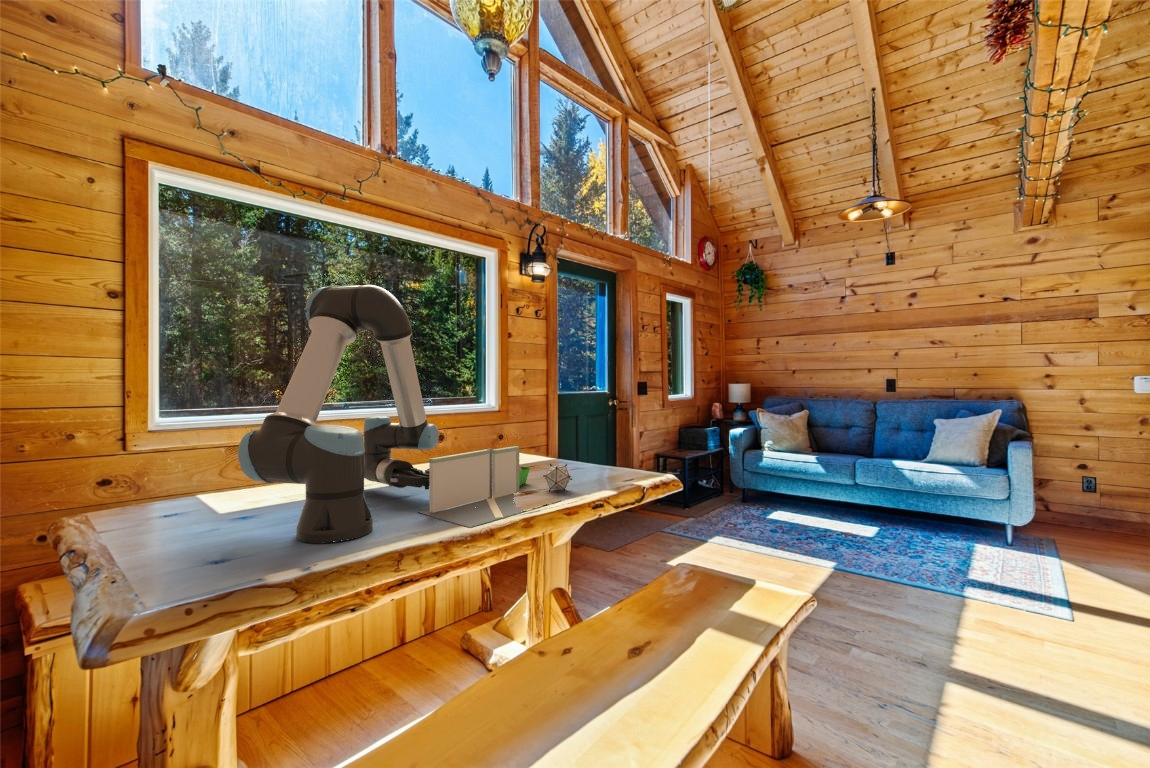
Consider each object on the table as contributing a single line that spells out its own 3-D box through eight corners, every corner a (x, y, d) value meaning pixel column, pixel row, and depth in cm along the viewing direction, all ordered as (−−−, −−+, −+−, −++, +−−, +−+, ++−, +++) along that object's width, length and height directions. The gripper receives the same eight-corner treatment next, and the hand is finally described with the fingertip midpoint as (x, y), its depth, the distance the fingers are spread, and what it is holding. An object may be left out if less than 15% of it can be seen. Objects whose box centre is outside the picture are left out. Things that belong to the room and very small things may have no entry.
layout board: (470, 528, 116) (470, 526, 116) (418, 512, 129) (418, 511, 129) (561, 501, 141) (561, 499, 141) (510, 490, 154) (510, 489, 154)
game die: (562, 501, 155) (580, 474, 158) (559, 498, 147) (578, 469, 150) (538, 485, 158) (556, 458, 160) (533, 481, 150) (553, 452, 152)
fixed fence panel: (495, 498, 144) (495, 450, 144) (491, 497, 145) (491, 449, 145) (519, 492, 151) (519, 446, 151) (515, 491, 152) (515, 446, 152)
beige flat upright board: (433, 514, 126) (433, 458, 126) (429, 513, 127) (428, 457, 127) (493, 497, 143) (493, 448, 143) (489, 496, 144) (489, 448, 144)
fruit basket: (515, 490, 154) (515, 453, 154) (489, 488, 157) (489, 451, 157) (531, 483, 165) (531, 448, 165) (506, 481, 168) (506, 446, 167)
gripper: (415, 482, 152) (467, 494, 137) (375, 490, 142) (426, 504, 127) (415, 457, 152) (467, 466, 137) (374, 463, 142) (426, 474, 127)
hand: (447, 484), depth 132 cm, fingers closed
